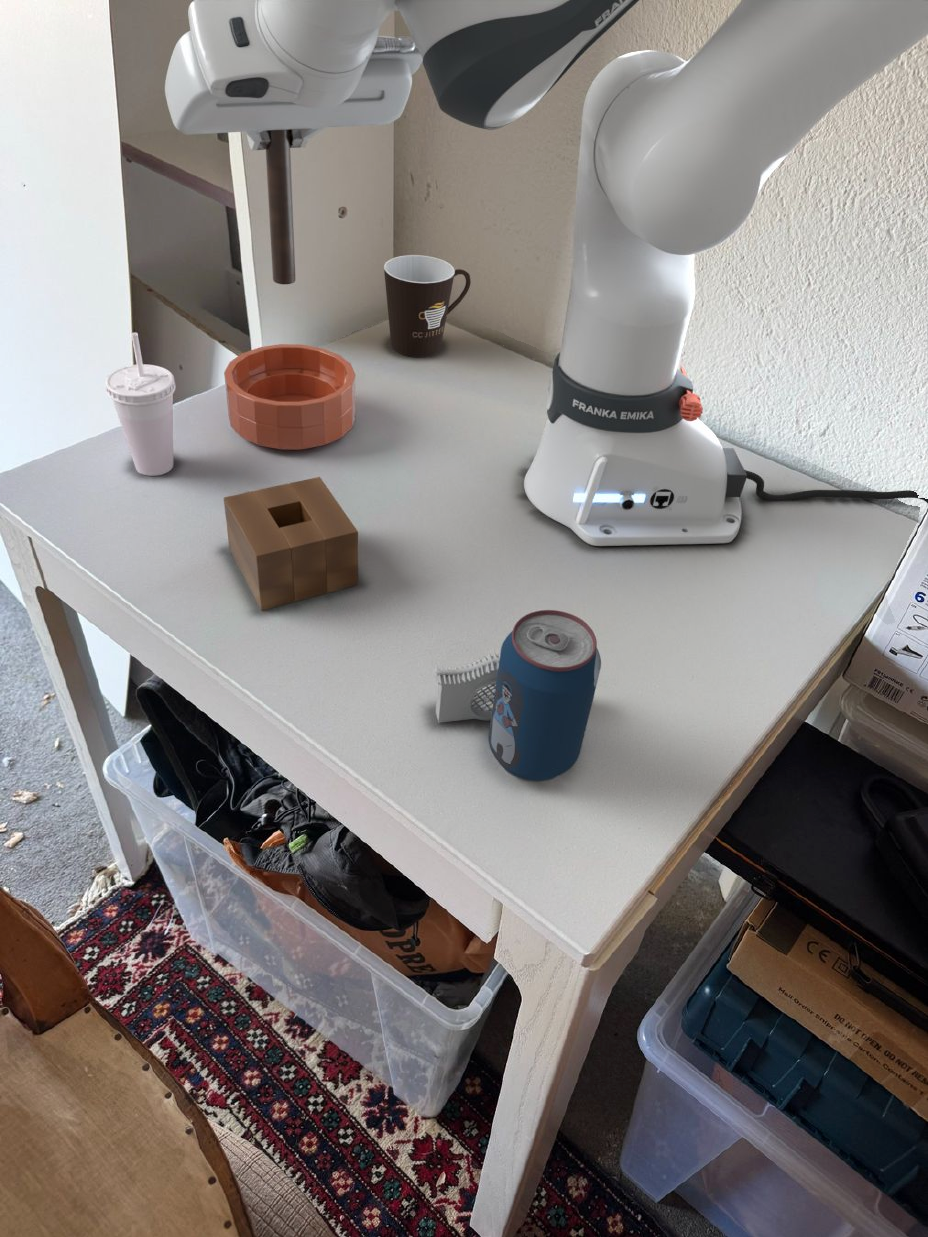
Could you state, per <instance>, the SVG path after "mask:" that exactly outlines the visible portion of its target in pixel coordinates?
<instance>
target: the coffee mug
mask: <svg viewBox="0 0 928 1237" xmlns="http://www.w3.org/2000/svg"><path fill="white" fill-rule="evenodd" d="M383 273H384V274H383V275H384V283H385V294H386V295H385V296H386V304H387V315H388V316H387V317H388V326H389V336H390V346H391V348H392V350H393V351H394V352H395V353H396V354H397V353H398V354H399V355H402V356H405V357H408V358H428V357H432V356H435V355H437V354H438V353H439V352H440V351H441V349H442V343H443V338H444V332H445V327H446V321H447V316H448V315H449V314H450V313H451V312H453V310H454V309H455V308H456V307H457V306H459V304H460V303H461V302H462V301H463V299H464V298H465V297H466V295H467V293H468V292H469V290H470V287H471V283H472V282H471V275H470V273H469V272H468V271H466V270H464V269H461V268H460V269H459V268H458V269H455V267H454V266H453V265H452V264H451V263H450V262H447V261H446V260H444V259H441V258H438V257H434V256H430V255H424V254H423V255H422V254H421V255H420V254H408V255H407V254H405V255H400V256H395V257H392V258H390V259H388V260H387V261H386V262H385V263H384V264H383ZM458 275H462V276H464V279H465V284H464V287H463V290H462V291H461V293H460V294H459V296H458V297H457V298H456V299H455V300H454V301H453V302H452V303H451V304H450V300H451V295H452V290H453V283H454V280H455V277H456V276H458Z"/></svg>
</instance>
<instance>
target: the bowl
mask: <svg viewBox="0 0 928 1237" xmlns="http://www.w3.org/2000/svg"><path fill="white" fill-rule="evenodd" d="M223 376H224V382H225V386H224V387H225V393H226V394H225V395H226V403H227V412H228V413H227V414H228V418H229V425H230V427H231V428H232V429H233V430H234V431H235V432H236V433H237V434H238V435H239V436H240V437H241V438H242V439H244V440H246V441H248V442H251V443H253V444H255V445H258V446H262V447H266V448H272V449H275V450H276V449H277V450H288V451H289V450H291V451H292V450H294V451H295V450H296V451H297V450H306V449H311V448H318V447H322V446H326V445H328V444H330V443H332V442H335V441H338V440H340V439H341V438H343V437H344V436H345V435H346V434H347V433H349V431H350V430H351V429H353V426H354V423H355V420H356V412H357V411H356V408H357V407H356V373H355V371H354V368H353V366H352V364H351V362H350V361H348V360H347V359H345V358H344V357H343V356H341V354H339V353H336V352H334V351H330V350H328V349H326V348H322V347H318V346H312V345H306V344H297V343H295V344H293V343H288V344H287V343H281V344H279V343H278V344H273V345H266V346H265V345H264V346H260V347H257V348H254V349H250V350H248V351H245V352H243V353H241V354H239V355H238V356H237V357H235V358H233V359H232V360H231V361H229V362H228V364H227V367H226V368H225V369H224V372H223Z"/></svg>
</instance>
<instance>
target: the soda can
mask: <svg viewBox="0 0 928 1237" xmlns="http://www.w3.org/2000/svg"><path fill="white" fill-rule="evenodd" d="M499 654H500V660H499V667H498V674H497V681H496V685H495V686H496V688H495V689H494V691H495V693H494V694H495V695H493V696H494V698H493V701H494V702H493V709H492V716H491V721H489V728H488V729H489V731H488V745H489V749H490V751H491V754H492V756H493V757H494V758H495V760H496V761H497V762H498V763H499V766H501V767H502V768H503V769H504V770H505V771H506V772H507V773H508V774H510V775H511V776H513V777H515V778H517V779H519V780H522V781H526V782H533V783H542V782H546V781H551V780H553V779H555V778H557V777H559V776H562V775H563V774H565V773H566V772H568V771H569V770H570V769H571V768H573V767H574V765H575V764H576V763H577V761H578V759H579V758H580V754H581V751H582V747H583V742H584V738H585V734H586V731H587V726H588V722H589V718H590V713H591V710H592V706H593V703H594V702H593V701H594V698H595V693H596V689H597V685H598V682H599V677H600V673H601V669H602V657H601V655H600V652H599V649H598V642H597V637H596V635H595V632H594V631H593V629H592V628H591V627H590V625H589V624H588V623H587V622H585V621H584V620H583V619H581V618H580V617H578V616H576V615H575V614H571V613H569V612H566V611H561V610H556V609H554V610H553V609H542V610H535V611H533V612H530V613H527V614H525V615H523V616H522V617H521V618H519V619H518V620H517V622H516V623H515V624H514V626H513V628H512V631H510V632H509V633H508V634H507V635H506V636H505V639H504V640H503V642H502V645H501V647H500V653H499Z"/></svg>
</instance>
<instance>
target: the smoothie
mask: <svg viewBox="0 0 928 1237" xmlns="http://www.w3.org/2000/svg"><path fill="white" fill-rule="evenodd" d="M139 339H140V338H139V334H138V332H131V340H132V345H133V352H134V357H135V364H131V365H126V366H123V367H119V368H117V369H116V370H113V371H112V372H110V373H109V374H108V375H107V376H106V378H105V379H104V380H105V381H104V383H105V384H104V385H105V392H106V395H107V396H108V398H110V399H111V400H112V403H113V406H114V409H115V412H116V415H117V418H118V420H119V423H120V426H121V429H122V432H123V434H124V438H125V441H126V444H127V447H128V450H129V453H130V455H131V459H132V462H133V464H134V467H135V470H136V471H137V472H138V473H139V474H140V475H144V476H149V477H156V476H162V475H165V474H167V473H169V472H170V471H171V470H172V469H173V468H174V397H173V396H174V395H173V394H175V391H176V389H177V386H176V382H175V376H174V374H173V373H172V372H171V371H170V370H168V369H167V368H165V367H162V366H159V365H154V364H145V363H144V362H143V356H142V352H141V345H140V340H139Z"/></svg>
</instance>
